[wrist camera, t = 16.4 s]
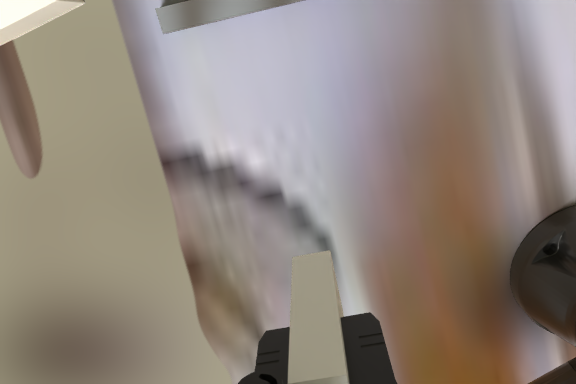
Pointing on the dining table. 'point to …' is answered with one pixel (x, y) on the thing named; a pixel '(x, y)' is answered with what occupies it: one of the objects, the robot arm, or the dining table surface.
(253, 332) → the dining table surface
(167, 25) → the twin grey rails
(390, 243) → the dining table surface
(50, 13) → the cream block
